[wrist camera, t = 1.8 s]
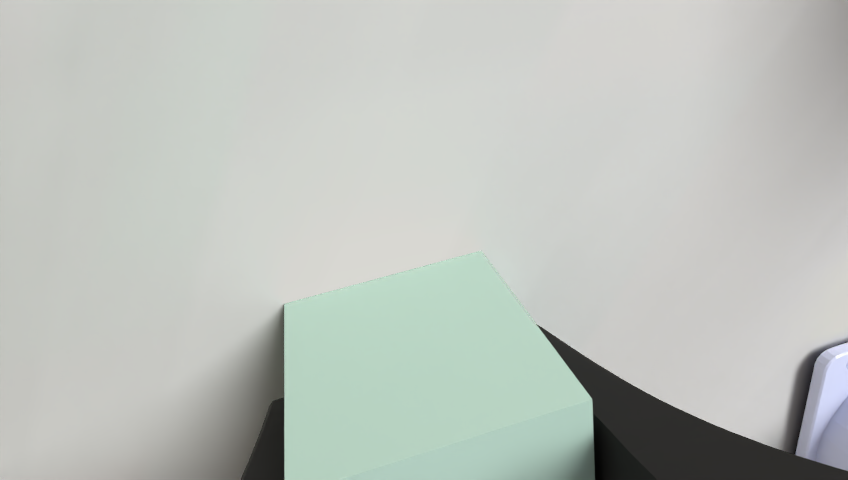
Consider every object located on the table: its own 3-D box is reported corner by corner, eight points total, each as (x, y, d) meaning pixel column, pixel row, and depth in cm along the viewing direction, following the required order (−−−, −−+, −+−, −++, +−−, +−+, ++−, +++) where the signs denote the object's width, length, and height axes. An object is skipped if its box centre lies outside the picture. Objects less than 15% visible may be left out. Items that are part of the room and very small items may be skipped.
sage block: (480, 250, 12) (592, 399, 8) (501, 396, 14) (598, 580, 10) (284, 303, 12) (284, 497, 7) (334, 448, 14) (359, 667, 9)
